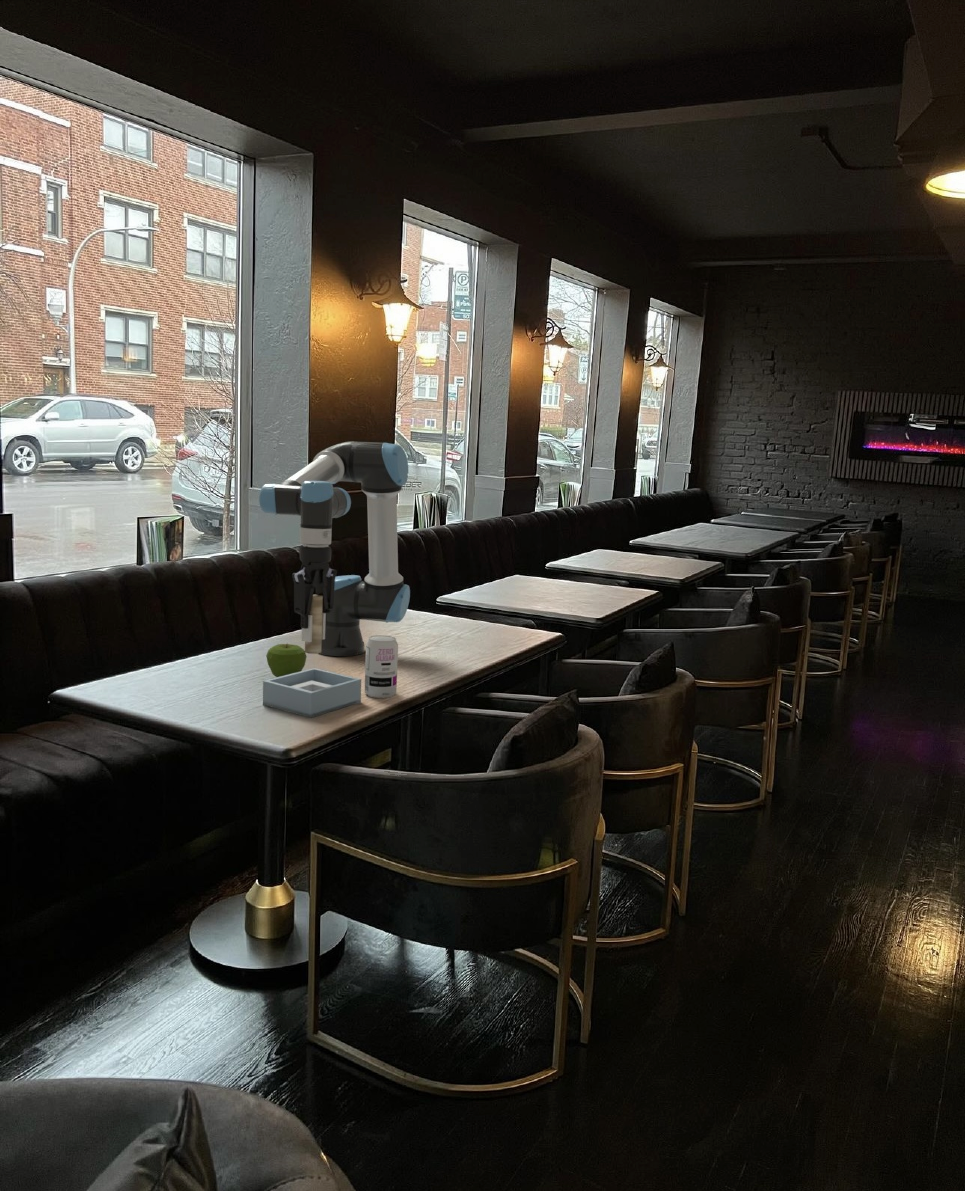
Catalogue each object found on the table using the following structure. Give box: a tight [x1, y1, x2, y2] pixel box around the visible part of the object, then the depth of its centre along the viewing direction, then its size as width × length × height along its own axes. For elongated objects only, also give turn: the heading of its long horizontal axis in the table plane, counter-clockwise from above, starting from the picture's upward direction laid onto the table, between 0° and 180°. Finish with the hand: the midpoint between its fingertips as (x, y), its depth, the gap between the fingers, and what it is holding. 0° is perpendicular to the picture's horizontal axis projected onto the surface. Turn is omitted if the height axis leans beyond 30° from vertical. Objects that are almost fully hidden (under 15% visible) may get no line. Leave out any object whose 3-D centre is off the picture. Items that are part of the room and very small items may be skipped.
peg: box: [304, 594, 323, 655], centre depth 236 cm, size 4×4×14 cm
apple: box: [265, 643, 308, 678], centre depth 260 cm, size 11×10×10 cm
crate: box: [262, 667, 362, 718], centre depth 239 cm, size 16×18×6 cm
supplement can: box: [364, 634, 399, 699], centre depth 250 cm, size 8×8×15 cm
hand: (313, 639), depth 237 cm, fingers closed on peg, 4 cm apart
